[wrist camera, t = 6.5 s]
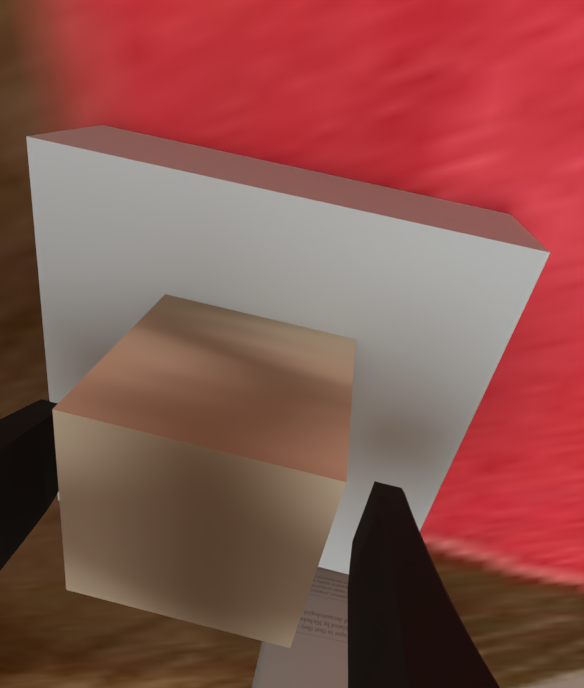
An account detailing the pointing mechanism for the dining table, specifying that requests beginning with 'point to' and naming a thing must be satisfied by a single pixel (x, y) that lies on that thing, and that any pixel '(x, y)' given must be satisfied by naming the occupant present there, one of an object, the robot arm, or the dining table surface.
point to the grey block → (286, 284)
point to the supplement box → (312, 641)
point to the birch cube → (206, 467)
